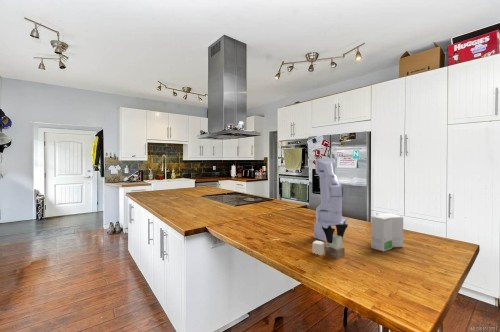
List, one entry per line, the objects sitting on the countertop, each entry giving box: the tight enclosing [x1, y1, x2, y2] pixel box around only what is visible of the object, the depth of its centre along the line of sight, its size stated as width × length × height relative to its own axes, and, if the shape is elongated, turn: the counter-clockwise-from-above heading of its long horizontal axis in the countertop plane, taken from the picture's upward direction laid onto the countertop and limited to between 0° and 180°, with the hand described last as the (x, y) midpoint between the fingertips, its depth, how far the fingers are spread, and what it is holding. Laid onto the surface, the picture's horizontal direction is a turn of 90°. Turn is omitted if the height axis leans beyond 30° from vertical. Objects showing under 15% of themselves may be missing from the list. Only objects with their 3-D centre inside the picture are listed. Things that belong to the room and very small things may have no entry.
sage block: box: [329, 233, 343, 250], centre depth 104 cm, size 4×4×5 cm
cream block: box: [312, 239, 325, 256], centre depth 107 cm, size 4×4×5 cm
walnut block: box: [324, 245, 345, 260], centre depth 105 cm, size 6×6×4 cm
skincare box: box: [370, 214, 393, 252], centre depth 112 cm, size 8×7×16 cm
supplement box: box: [375, 212, 404, 248], centre depth 117 cm, size 9×9×15 cm
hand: (334, 240), depth 104 cm, fingers open, 7 cm apart
